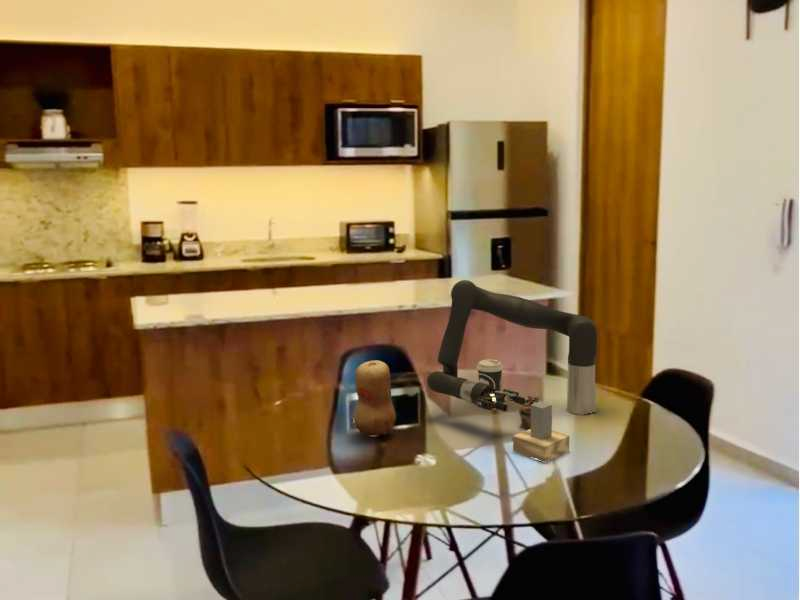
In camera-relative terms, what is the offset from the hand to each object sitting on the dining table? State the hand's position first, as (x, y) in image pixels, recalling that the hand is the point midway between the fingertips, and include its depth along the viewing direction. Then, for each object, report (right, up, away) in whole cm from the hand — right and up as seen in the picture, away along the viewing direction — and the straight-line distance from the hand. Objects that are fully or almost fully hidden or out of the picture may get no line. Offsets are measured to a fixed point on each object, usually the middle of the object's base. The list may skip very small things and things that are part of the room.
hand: (515, 404), depth 240 cm
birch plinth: (+7, -14, -5) cm, 16 cm away
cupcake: (+8, -9, +16) cm, 20 cm away
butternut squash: (-44, -12, +11) cm, 47 cm away
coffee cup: (-3, -5, +40) cm, 41 cm away
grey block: (+7, -9, -6) cm, 12 cm away
